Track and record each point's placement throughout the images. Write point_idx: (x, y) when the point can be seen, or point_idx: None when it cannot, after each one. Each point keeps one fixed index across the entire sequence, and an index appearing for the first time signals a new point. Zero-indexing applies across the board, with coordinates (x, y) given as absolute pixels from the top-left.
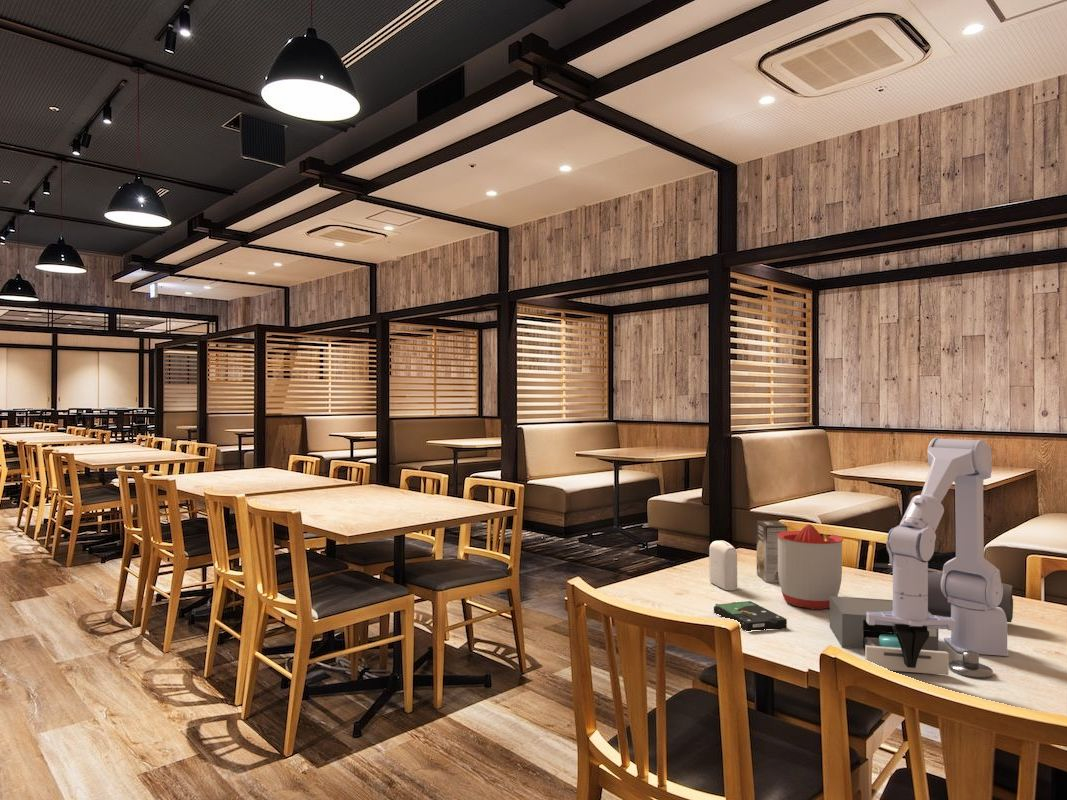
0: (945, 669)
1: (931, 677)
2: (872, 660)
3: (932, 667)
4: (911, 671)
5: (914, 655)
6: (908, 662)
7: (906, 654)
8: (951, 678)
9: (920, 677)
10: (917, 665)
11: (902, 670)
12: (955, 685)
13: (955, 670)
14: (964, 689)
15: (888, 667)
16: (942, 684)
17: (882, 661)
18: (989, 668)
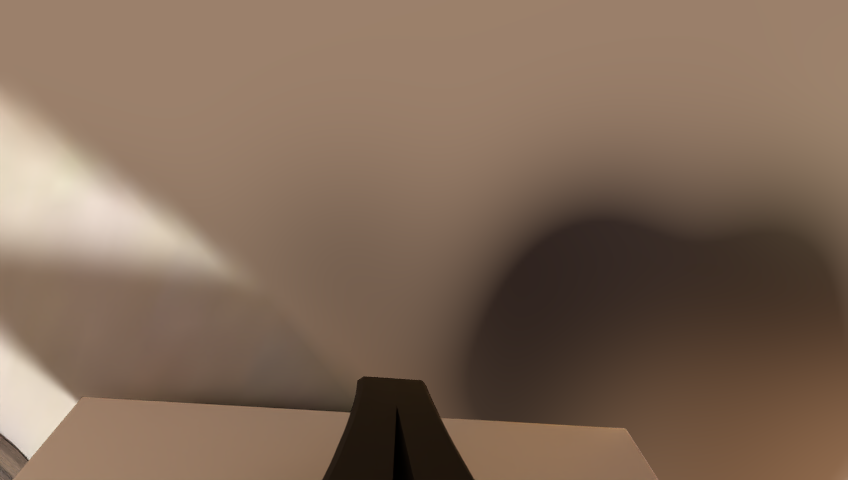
0: (80, 431)
1: (227, 363)
2: (618, 475)
3: (183, 443)
4: (348, 416)
5: (379, 462)
6: (430, 405)
7: (468, 470)
8: (74, 365)
9: (311, 353)
10: (300, 452)
11: None
12: (77, 237)
13: (4, 468)
14: (15, 158)
15: (501, 434)
16: (184, 246)
17: (552, 471)
18: None
